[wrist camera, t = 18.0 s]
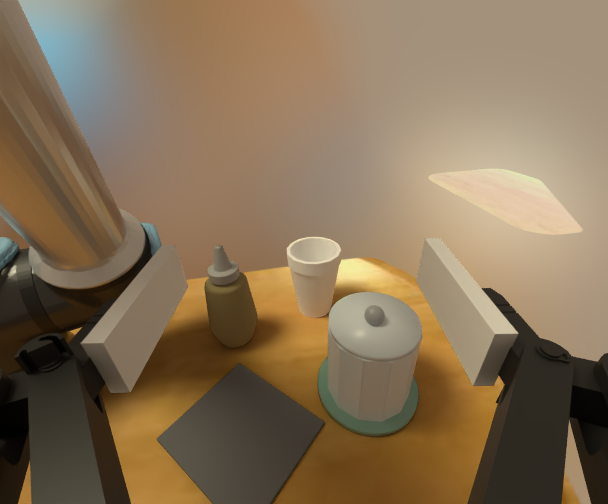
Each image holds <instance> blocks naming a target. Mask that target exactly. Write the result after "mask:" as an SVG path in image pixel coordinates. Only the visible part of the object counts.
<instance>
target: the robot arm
mask: <svg viewBox="0 0 608 504" xmlns="http://www.w3.org/2000/svg"><path fill="white" fill-rule="evenodd" d="M0 216H1V217H2V218H3V219H4V220H5V221H6V222H7V223H8V224H9V225H10V226H11V227H12V228H13V229H14V230H15V231H16V232H17V233H19V235H20V236H21V237H22V238H24V239H25V240H26V241H27V242H28V243H29V244H30V248H27V249H19V245H18V244H17V243H15V242H14V241H13V240H11V239H9V238H5V237H1V238H0V504H18V501H19V497H20V494H21V490H22V486H23V483H24V479H25V475H26V472H27V468H28V465H29V461H30V469H31V498H32V504H131V502H130V498H129V495H128V491H127V487H126V483H125V480H124V476H123V472H122V469H121V465H120V461H119V458H118V454H117V450H116V447H115V443H114V439H113V436H112V432H111V428H110V425H109V421H108V417H107V414H106V410H105V406H104V403H103V399H102V397H101V395H100V394H99V392H100V390H101V389H102V387H103V386H104V384H106V386H107V388H108V389H109V391H110V393H130V392H131V391H132V389H133V387H134V385H135V383H136V381H137V380H138V378H139V376H140V374H141V372H142V370H143V369H144V367H145V365H146V363H147V361H148V359H149V358H150V356H151V354H152V352H153V350H154V348H155V347H156V345H157V343H158V341H159V339H160V337H161V336H162V334H163V332H164V330H165V328H166V326H167V325H168V323H169V321H170V319H171V317H172V315H173V314H174V312H175V310H176V308H177V306H178V304H179V303H180V301H181V299H182V297H183V295H184V293H185V292H186V290H187V288H188V285H187V281H186V278H185V275H184V271H183V268H182V264H181V262H180V258H179V255H178V251H177V248H176V246H161V242H160V238H159V235H158V232H157V230H156V228H155V226H154V225H153V224H151V223H139V221H138V220H137V219H136V218H135V217H134V216H133V215H131V214H130V213H128V212H126V211H124V210H122V209H118V207H117V205H116V203H115V201H114V199H113V197H112V194H111V193H110V190H109V188H108V186H107V184H106V182H105V180H104V178H103V176H102V174H101V172H100V170H99V168H98V165H97V163H96V161H95V159H94V157H93V155H92V153H91V151H90V149H89V147H88V145H87V143H86V140H85V138H84V136H83V134H82V132H81V130H80V128H79V126H78V124H77V122H76V120H75V118H74V116H73V114H72V111H71V109H70V107H69V105H68V103H67V101H66V99H65V97H64V95H63V93H62V91H61V89H60V87H59V85H58V82H57V80H56V78H55V76H54V74H53V72H52V70H51V68H50V66H49V64H48V62H47V60H46V58H45V56H44V53H43V51H42V49H41V47H40V45H39V43H38V41H37V39H36V37H35V35H34V33H33V31H32V29H31V27H30V24H29V23H28V20H27V18H26V16H25V14H24V12H23V10H22V8H21V6H20V4H19V2H18V0H0ZM416 281H417V283H418V285H419V287H420V289H421V291H422V292H423V294H424V296H425V298H426V300H427V302H428V303H429V305H430V307H431V309H432V311H433V313H434V315H435V316H436V318H437V320H438V322H439V324H440V326H441V327H442V329H443V331H444V333H445V335H446V337H447V339H448V340H449V342H450V344H451V346H452V348H453V350H454V352H455V353H456V355H457V357H458V359H459V361H460V363H461V364H462V366H463V368H464V370H465V372H466V374H467V376H468V377H469V379H470V381H471V383H472V385H473V386H494V384H495V382H496V379H497V377H498V375H499V376H500V378H501V379H502V381H503V383H504V384H505V385H504V387H503V389H502V391H501V393H500V395H499V397H498V399H497V401H496V403H498V405H497V408H496V412H495V415H494V418H493V421H492V425H491V428H490V431H489V435H488V438H487V441H486V444H485V448H484V451H483V454H482V458H481V461H480V464H479V468H478V471H477V474H476V477H475V481H474V484H473V487H472V491H471V494H470V497H469V500H468V504H561V502H562V491H563V480H564V469H565V458H566V447H567V436H568V424H569V420H570V423H571V427H572V431H573V435H574V439H575V442H576V447H577V451H578V454H579V458H580V462H581V466H582V470H583V474H584V478H585V481H586V485H587V489H588V493H589V497H590V501H591V504H608V353H607V354H604V355H603V356H602V357H601V358H600V360H599V361H598V362H596V361H591V360H586V359H582V358H576V357H573V356H571V355H570V354H569V352H568V351H567V350H565V349H564V348H563V347H561V346H560V345H558V344H556V343H554V342H551V341H549V340H545V339H541V338H539V337H538V335H537V334H536V333H535V332H534V331H533V330H532V329H531V328H530V326H528V324H527V323H526V322H525V321H524V320H523V319H522V317H521V316H520V315H519V314H518V313H516V311H515V310H514V308H512V306H510V304H509V303H508V302H507V301H506V300H505V298H504V297H503V296H502V295H500V294H498V293H497V292H495V291H494V290H493V289H491V288H480V287H479V285H478V284H477V283H476V281H475V280H474V279H473V278H472V277H471V275H470V274H469V273H468V272H467V271H466V269H465V268H464V267H463V266H462V265H461V263H460V262H459V261H458V260H457V258H456V257H455V256H454V255H453V254H452V252H451V251H450V250H449V249H448V248H447V247H446V245H445V244H444V243H443V242H442V240H441V239H440V238H425V240H424V245H423V251H422V255H421V260H420V265H419V270H418V275H417V280H416ZM81 327H82V328H81ZM77 328H81V329H80V331H79V332H78V333H77V334H76V335H74V334H73V333H71V332H70V331H71V330H74V329H77Z"/></svg>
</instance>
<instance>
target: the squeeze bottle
mask: <svg viewBox="0 0 608 504" xmlns="http://www.w3.org/2000/svg"><path fill="white" fill-rule="evenodd" d="M207 273H208V277H209V279H208V280H207V281H206V282H205V295H206V303H207V310H208V318H209V326H210V329H211V331H212V333H213V334H214V335H215V336H216V337H217V338H218V340H219V341H220V342H221V343H222V344H223V345H225V346H226V347H231V348H235V347H241V346H243V345H245V344H247V343H248V342H249V341H250V340H251V339H252V337H253V335H254V331H255V327H256V324H257V312H256V308H255V305H254V301H253V298H252V295H251V291H250V288H249V285H248V281H247V278H246V276H245V275H244V274H243V273H241V272H239V267H238V264H237V263H236V262H234V261H230V260H229V259H228V257H227V255H226V253H225V251H224V249H223V246H221V245H218V246H215V248H214V264H212V265H211V266H210V267H209V268H208V271H207Z"/></svg>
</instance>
